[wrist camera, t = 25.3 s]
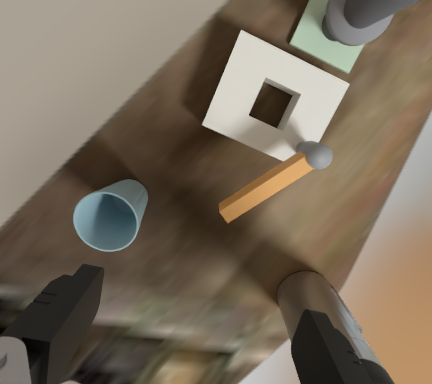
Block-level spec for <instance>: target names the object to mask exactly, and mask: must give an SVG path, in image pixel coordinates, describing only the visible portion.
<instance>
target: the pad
mask: <svg viewBox="0 0 432 384" xmlns="http://www.w3.org/2000/svg"><path fill="white" fill-rule="evenodd" d="M327 3H328V0H309V2H308V4H307V6H306V8H305V10H304V13H303V15H302V17H301V19H300V21H299V23H298V26H297V28H296V30H295V32H294V34H293V37H292V39H291V41H290V43H289V45H291V46H293V47H295V48H297V49H299V50H301V51H303V52H305V53H307V54H309V55H311V56H313V57H315V58H317V59H319V60H321V61H323V62H325V63H327V64H329V65H331V66H333V67H335V68H337V69H339V70H341V71H343V72H345V73H347V74H348V73H349V72H350V70H351V68H352V66H353V65H354V63H355V61H356V59H357V57H358V55H359V53H360V51H361V49H362V48H363V46H364V44H362V45H359V46H347V45H343V44H341V43H339V42H338V41H330V40H328V39H327V38H326V37H325V36H324V34H323V31H322V21H323V18H324V16H325V14H326V7H327Z"/></svg>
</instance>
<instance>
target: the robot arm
mask: <svg viewBox="0 0 432 384" xmlns="http://www.w3.org/2000/svg"><path fill="white" fill-rule="evenodd" d="M103 277H104V268H102V267H97V266H92V265H87V264H83V265H82V266H81V267H80V268H79V269H78V270H77V271H76V273H75V274H74V275H73V276H70V275H62V276H60V277H59V278H57V279H55V280H53V281H51V282H50V283H49V284H48V285H47V286H46V287H45V288H44V289H43V290H42V292H41V294H39V295H38V296H37V297H36V298H35V299H34V300H33V302H31V303H30V304H29V305H28V307H27V308H26V309H25V310H24V311H23V312H22V313H21V314H20V315H19V316H18V317H17V318H16V319H15V320H14V322H13V323H12V324H11V325H10V326H9V327H8V328H7V329H6V330H5V331H4V332H3V333H2V334H1V335H0V384H58V382H59V380H60V378H61V377H62V375H63V373H64V371H65V369H66V368H67V366H68V364H69V362H70V361H71V359H72V357H73V355H74V353H75V352H76V350H77V348H78V346H79V345H80V343H81V341H82V339H83V337H84V336H85V334H86V332H87V330H88V329H89V327H90V325H91V323H92V321H93V320H94V318H95V316H96V313H97V310H98V307H99V303H100V297H101V291H102V284H103ZM277 301H278V304H279V307H280V310H281V313H282V316H283V319H284V322H285V325H286V328H287V331H288V334H289V337H290V340H291V354H292V358H293V361H294V364H295V367H296V371H297V374H298V377H299V380H300V383H301V384H394V382H393V381H392V379H391V378H390V376H389V375H388V373H387V372H386V370H385V369H384V367H383V366H382V364H381V362H380V361H379V359H378V358H377V356H376V355H375V353H374V352H373V351H372V349H371V348H370V346H369V345H368V343H367V341H366V340H365V339H364V337H363V335H362V329H361V327H360V326H359V324H358V323H357V322H356V320H355V318H354V317H353V315H352V314H351V312H350V311H349V309H348V308H347V306H346V305H345V304H344V302H343V301H342V299H341V298H340V296H339V295H338V293H337V292H336V290H335V289H334V288H331V286H330V285H329V283H328V282H327V280H326V279H325V278H324V277H323V276H321V275H320V274H318V273H315V272H311V271H301V272H297V273H294V274H292V275H290V276H288V277H287V278H286V279H285V280H284V281H283V282H282V283H281V284H280V286H279V288H278V291H277Z"/></svg>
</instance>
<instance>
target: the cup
mask: <svg viewBox="0 0 432 384" xmlns="http://www.w3.org/2000/svg"><path fill="white" fill-rule="evenodd" d="M147 202H148V193H147V190H146V189H145V187H144V186H143V185H142V184H141V183H139V182H138V181H136V180H131V179H126V180H122V181H119V182H117V183H114V184H112V185H110V186H107V187H105V188H103V189H100V190H98V191H95V192H93V193H91V194H88V195H87V196H85V197H84V198H82V199H81V200H80V201H79V203H78V204H77V206H76V208H75V210H74V215H73V222H74V227H75V229H76V232H77V233H78V235H79V236H80V238H81V239H82V240H83V241H84V242H85V243H86V244H88V245H89V246H91V247H93V248H95V249H98V250H101V251H117V250H121V249H123V248H125V247H127V246H128V245H129V244H131V243H132V241H133V240H134V239H135V237H136V235H137V233H138V230H139V227H140V223H141V220H142V217H143V214H144V211H145V208H146V205H147Z"/></svg>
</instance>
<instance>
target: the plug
mask: <svg viewBox="0 0 432 384" xmlns="http://www.w3.org/2000/svg"><path fill="white" fill-rule="evenodd" d="M418 1H419V0H328V3H327V7H326V14H325V16H324V18H323V21H322V31H323V34H324V36H325V37H326V38H327V39H328V40H330V41H338V42H339V43H341V44H343V45H347V46H359V45H362V44H365V43H367V42H370V41H372V40H374V39H375V38H377V37H378V36H379V35H381V34H382V33H383V32H384V31H385V29H386V28H387V27H388V25H389V23H390V21H391V19H392V17H393V14H394V13H396V12H398V11H400V10H402V9H404V8H406V7H408V6H410V5H412V4H414V3H416V2H418Z"/></svg>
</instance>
